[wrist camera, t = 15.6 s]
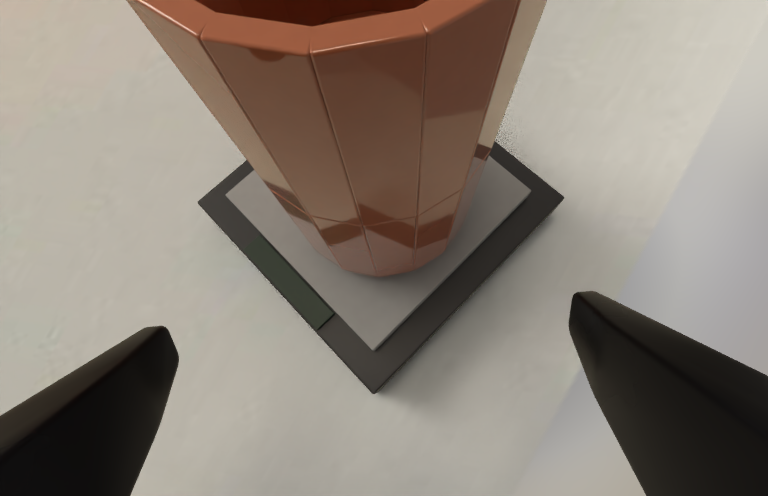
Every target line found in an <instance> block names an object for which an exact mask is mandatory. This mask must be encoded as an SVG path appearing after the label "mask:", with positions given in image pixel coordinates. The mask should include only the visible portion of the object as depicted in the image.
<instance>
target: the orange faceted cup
mask: <svg viewBox="0 0 768 496" xmlns="http://www.w3.org/2000/svg"><path fill="white" fill-rule="evenodd" d="M126 1H127V2H128V3H129V5H130V6H131V7H132V9H133V10H134V11H135V13H136V14H137V15H138V16H139V18H140V19H141V20H142V22H143V23H144V24H145V26H146V27H147V28H148V30H149V31H150V32H151V34H152V35H153V36H154V38H155V39H156V40H157V42H158V43H159V44H160V46H161V47H162V48H163V50H164V51H165V52H166V54H167V55H168V56H169V58H170V59H171V60H172V61H173V63H174V64H175V65H176V67H177V68H178V69H179V71H180V72H181V73H182V75H183V76H184V77H185V79H186V80H187V81H188V83H189V84H190V85H191V87H192V88H193V89H194V91H195V92H196V93H197V95H198V96H199V97H200V99H201V100H202V101H203V102H204V104H205V105H206V106H207V108H208V109H209V110H210V112H211V113H212V114H213V116H214V117H215V118H216V120H217V121H218V122H219V124H220V125H221V126H222V128H223V129H224V130H225V132H226V133H227V134H228V136H229V137H230V138H231V140H232V141H233V142H234V144H235V145H236V146H237V147H238V149H239V150H240V151H241V153H242V154H243V155H244V157H245V158H246V159H247V161H248V162H249V163H250V165H251V166H252V167H253V169H254V170H255V171H256V173H257V174H258V175H259V177H260V178H261V179H262V181H263V182H264V183H265V185H266V186H267V187H268V188H269V190H270V191H271V192H272V194H273V195H274V196H275V198H276V199H277V200H278V202H279V203H280V204H281V206H282V207H283V208H284V210H285V211H286V212H287V214H288V215H289V216H290V218H291V219H292V220H293V221H294V223H295V224H296V225H297V227H298V228H299V229H300V231H301V232H302V233H303V235H304V236H305V237H306V239H307V240H308V241H309V243H310V244H311V245H312V247H313V248H314V249H315V250H316V251H317V252H318V253H320V254H321V255H323V256H324V257H325V258H327V259H328V260H330V261H331V262H333V263H334V264H335V265H337V266H338V267H340V268H341V269H344V270H346V271H351V272H356V273H360V274H365V275H370V276H374V277H382V276H388V275H394V274H399V273H405V272H411V271H413V270H416V269H418V268H419V267H421V266H423V265H424V264H426V263H427V262H429V261H431V260H432V259H434V258H435V257H437V256H439V255H440V254H442V253H443V252H444V251H445V250H446V249H447V247H448V246H449V244H450V243H451V241H452V240H453V239H454V237H455V236H456V234H457V233H458V231H459V230H460V228H461V227H462V226H463V223H464V221H465V218H466V215H467V213H468V210H469V207H470V205H471V202H472V199H473V197H474V194H475V191H476V189H477V186H478V183H479V181H480V178H481V175H482V173H483V170H484V167H485V165H486V162H487V159H488V157H489V154H490V151H491V149H492V146H493V144H494V141H495V138H496V136H497V133H498V130H499V128H500V125H501V122H502V120H503V117H504V114H505V112H506V109H507V106H508V104H509V101H510V98H511V96H512V93H513V90H514V88H515V85H516V82H517V79H518V77H519V74H520V71H521V69H522V66H523V63H524V61H525V58H526V55H527V53H528V50H529V47H530V45H531V42H532V39H533V37H534V34H535V31H536V29H537V26H538V23H539V21H540V18H541V15H542V13H543V10H544V7H545V5H546V2H547V0H126Z"/></svg>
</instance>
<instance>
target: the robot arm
mask: <svg viewBox="0 0 768 496" xmlns="http://www.w3.org/2000/svg"><path fill="white" fill-rule="evenodd" d="M569 331H570V335H571V337H572V340H573V342H574V345H575V348H576V350H577V353H578V355H579V358H580V361H581V363H582V366H583V368H584V371H585V373H586V376H587V379H588V381H589V384H590V386H591V389H592V391H593V394H594V396H595V398H596V400H597V402H598V404H599V406H600V408H601V410H602V412H603V414H604V416H605V417H606V419H607V421H608V423H609V425H610V427H611V429H612V431H613V433H614V435H615V437H616V438H617V440H618V442H619V444H620V446H621V448H622V450H623V452H624V454H625V456H626V458H627V459H628V461H629V463H630V465H631V467H632V469H633V471H634V473H635V475H636V477H637V479H638V480H639V482H640V484H641V486H642V488H643V490H644V492H645V494H646V496H768V376H767V375H765V374H763V373H761V372H759V371H757V370H755V369H752V368H751V367H748V366H746V365H744V364H742V363H740V362H738V361H736V360H734V359H732V358H730V357H728V356H726V355H724V354H722V353H720V352H718V351H716V350H714V349H712V348H710V347H708V346H706V345H704V344H702V343H699V342H697V341H695V340H693V339H691V338H689V337H687V336H685V335H683V334H681V333H679V332H677V331H675V330H673V329H671V328H669V327H667V326H665V325H663V324H661V323H659V322H657V321H655V320H653V319H650V318H648V317H646V316H644V315H642V314H640V313H638V312H636V311H634V310H632V309H630V308H628V307H626V306H624V305H622V304H619V303H618V302H616V301H614V300H612V299H610V298H608V297H606V296H604V295H602V294H599V293H597V292H595V291H586V292H577V293H575V294H574V295H573V298H572V303H571V310H570V317H569ZM178 363H179V356H178V352H177V350H176V347H175V345H174V342H173V340H172V338H171V335H170V333H169V331H168V329H167V328H166V327H164V326H155V327H146V328H144V329H142V330H140V331H139V332H137V333H135V334H134V335H132V336H130V337H129V338H127V339H125V340H124V341H122V342H121V343H119V344H117V345H116V346H114V347H112V348H111V349H109V350H107V351H106V352H104V353H103V354H101V355H99V356H98V357H96V358H94V359H93V360H91V361H89V362H88V363H86V364H85V365H83V366H81V367H80V368H78V369H76V370H75V371H73V372H71V373H70V374H68V375H66V376H65V377H63V378H62V379H60V380H58V381H57V382H55V383H53V384H52V385H50V386H48V387H47V388H45V389H44V390H42V391H40V392H39V393H37V394H35V395H34V396H32V397H30V398H29V399H27V400H26V401H24V402H22V403H21V404H19V405H17V406H16V407H14V408H12V409H11V410H9V411H8V412H6V413H4V414H3V415H1V416H0V496H130V495H131V492H132V490H133V488H134V485H135V483H136V481H137V478H138V476H139V474H140V471H141V469H142V467H143V464H144V462H145V459H146V457H147V455H148V452H149V450H150V448H151V445H152V443H153V441H154V438H155V436H156V433H157V431H158V428H159V425H160V422H161V419H162V417H163V413H164V410H165V407H166V403H167V400H168V397H169V394H170V390H171V387H172V384H173V380H174V377H175V374H176V371H177V367H178Z"/></svg>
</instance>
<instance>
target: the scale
mask: <svg viewBox="0 0 768 496" xmlns="http://www.w3.org/2000/svg"><path fill="white" fill-rule="evenodd" d="M563 199H564V197H563V196H562V195H561V194H560V193H558V192H557V191H556V190H555V189H553V188H552V187H551V186H550V185H548V184H547V183H546V182H545V181H543V180H542V179H541V178H540V177H538V176H537V175H536V174H535V173H533V172H532V171H531V170H530V169H529V168H527V167H526V166H525V165H524V164H522V163H521V162H520V161H519V160H517V159H516V158H515V157H514V156H512V155H511V154H510V153H509V152H507V151H506V150H505V149H504V148H502V147H501V146H500V145H499V144H497V143H496V142H495V141H494V144H493V146H492V149H491V151H490V154H489V157H488V159H487V162H486V165H485V167H484V170H483V173H482V175H481V178H480V181H479V183H478V186H477V189H476V191H475V194H474V197H473V199H472V202H471V205H470V207H469V210H468V213H467V215H466V218H465V221H464V223H463V226H462V227H461V228H460V230H459V231H458V233H457V234H456V236H455V237H454V239H453V240H452V241H451V243H450V244H449V246H448V247H447V249H446V250H445V251H444V252H443V253H442V254H440V255H439V256H437V257H435V258H434V259H432V260H431V261H429V262H427V263H426V264H424V265H423V266H421V267H419V268H418V269H416V270H413V271H411V272H405V273H399V274H394V275H388V276H382V277H374V276H370V275H365V274H360V273H356V272H351V271H346V270H344V269H341V268H340V267H338V266H337V265H335V264H334V263H333V262H331V261H330V260H328V259H327V258H325V257H324V256H323V255H321V254H320V253H318V252H317V251H316V250H315V249H314V248H313V247H312V245H311V244H310V243H309V241H308V240H307V239H306V237H305V236H304V235H303V233H302V232H301V231H300V229H299V228H298V227H297V225H296V224H295V223H294V221H293V220H292V219H291V218H290V216H289V215H288V214H287V212H286V211H285V210H284V208H283V207H282V206H281V204H280V203H279V202H278V200H277V199H276V198H275V196H274V195H273V194H272V192H271V191H270V190H269V188H268V187H267V186H266V185H265V183H264V182H263V181H262V179H261V178H260V177H259V175H258V174H257V173H256V171H255V170H254V169H253V167H252V166H251V165H250V163H249V162H248V161H247V160H246V161H245V162H244V163H243V164H242V165H240V166H239V167H238V168H237V169H236V170H235V171H233V172H232V173H231V174H230V175H229V176H228V177H226V178H225V179H224V180H223V181H222V182H220V183H219V184H218V185H217V186H216V187H215V188H213V189H212V190H211V191H210V192H209V193H208V194H206V195H205V196H204V197H203V198H202V199H200V200H199V201H198V204H199V205H200V206H201V207H202V208H203V209H204V211H205V212H206V213H207V214H208V215H209V216H210V217H211V218H212V219H213V220H214V221H215V223H216V224H217V225H218V226H219V227H220V228H221V229H222V230H223V231H224V232H225V233H226V235H227V236H228V237H229V238H230V239H231V240H232V241H233V242H234V243H235V244H236V245H237V247H238V248H239V249H240V250H241V251H242V252H243V253H244V254H245V255H246V256H247V257H248V259H249V260H250V261H251V262H252V263H253V264H254V265H255V266H256V267H257V268H258V269H259V271H260V272H261V273H262V274H263V275H264V276H265V277H266V278H267V279H268V280H269V281H270V283H271V284H272V285H273V286H274V287H275V288H276V289H277V290H278V291H279V292H280V293H281V295H282V296H283V297H284V298H285V299H286V300H287V301H288V302H289V303H290V304H291V305H292V307H293V308H294V309H295V310H296V311H297V312H298V313H299V314H300V315H301V316H302V317H303V319H304V320H305V321H306V322H307V323H308V324H309V325H310V326H311V327H312V328H313V329H314V330H315V332H316V333H317V334H318V335H319V336H320V337H321V338H322V339H323V340H324V341H325V342H326V344H327V345H328V346H329V347H330V348H331V349H332V350H333V351H334V352H335V353H336V354H337V356H338V357H339V358H340V359H341V360H342V361H343V362H344V363H345V364H346V365H347V366H348V368H349V369H350V370H351V371H352V372H353V373H354V374H355V375H356V376H357V377H358V378H359V380H360V381H361V382H362V383H363V384H364V385H365V386H366V387H367V388H368V389H369V390H370V392H371V393H372V394H375V393H377V392H378V391H379V390H380V389H381V388H382V387H383V386H384V385H385V384H386V383H387V382H388V381H389V380H390V379H391V378H392V377H393V376H394V375H395V374H396V373H397V372H398V371H399V370H400V369H401V368H402V367H403V366H404V365H405V364H406V363H407V361H408V360H409V359H410V358H411V357H412V356H413V355H414V354H415V353H416V352H417V351H418V350H419V349H420V348H421V347H422V346H423V345H424V344H425V343H426V342H427V341H428V340H429V339H430V338H431V337H432V336H433V335H434V334H435V333H436V332H437V331H438V329H439V328H440V327H441V326H442V325H443V324H444V323H445V322H446V321H447V320H448V319H449V318H450V317H451V316H452V315H453V314H454V313H455V312H456V311H457V310H458V309H459V308H460V307H461V306H462V305H463V304H464V303H465V302H466V301H467V300H468V299H469V297H470V296H471V295H472V294H473V293H474V292H475V291H476V290H477V289H478V288H479V287H480V286H481V285H482V284H483V283H484V282H485V281H486V280H487V279H488V278H489V277H490V276H491V275H492V274H493V273H494V272H495V271H496V270H497V269H498V268H499V267H500V265H501V264H502V263H503V262H504V261H505V260H506V259H507V258H508V257H509V256H510V255H511V254H512V253H513V252H514V251H515V250H516V249H517V248H518V247H519V246H520V245H521V244H522V243H523V242H524V241H525V240H526V239H527V238H528V237H529V236H530V235H531V234H532V232H533V231H534V230H535V229H536V228H537V227H538V226H539V225H540V224H541V223H542V222H543V221H544V220H545V219H546V218H547V217H548V216H549V215H550V214H551V213H552V212H553V211H554V209H555V208H556V207H557V206H558V205H559V204H560V203H561V202H562V201H563Z"/></svg>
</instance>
